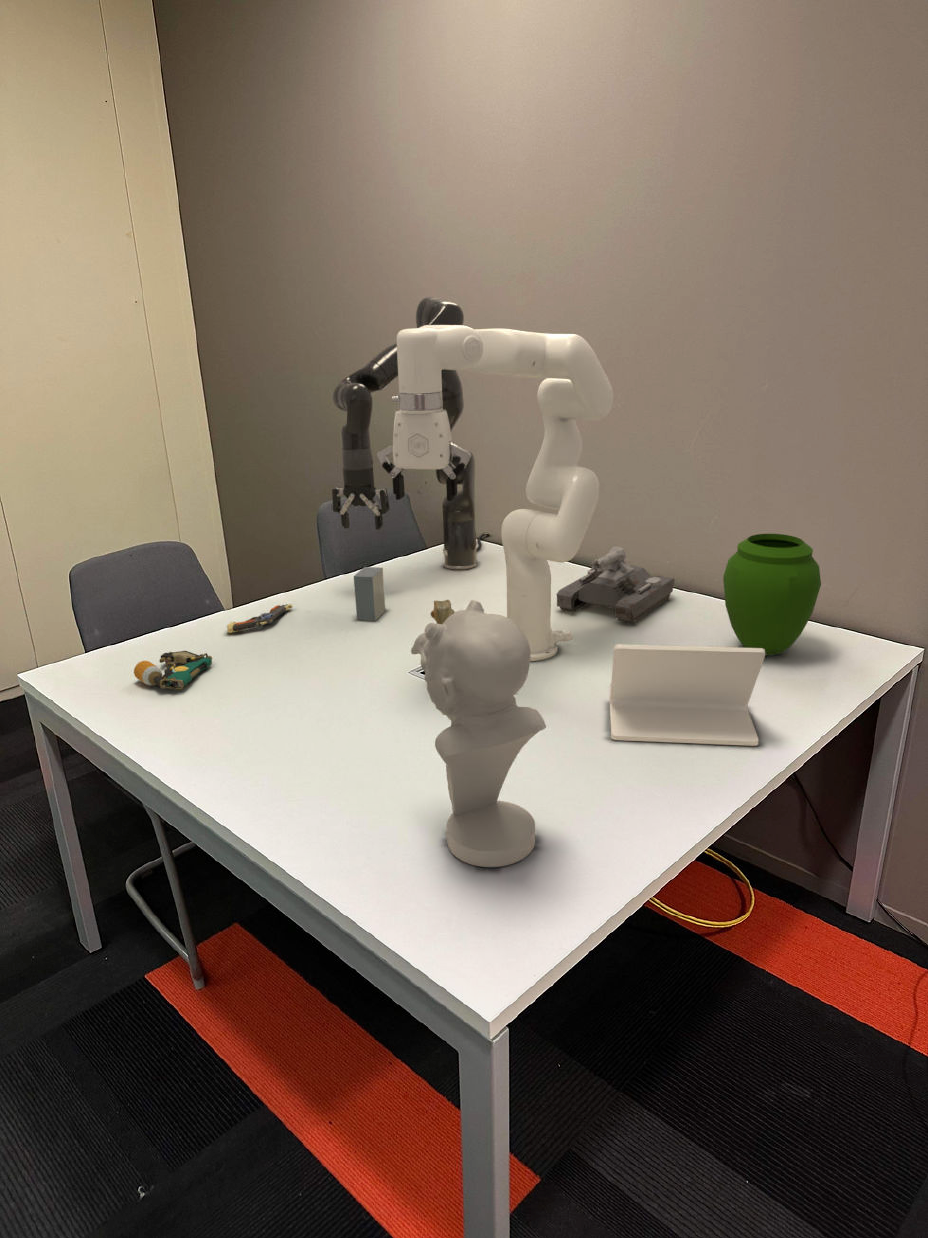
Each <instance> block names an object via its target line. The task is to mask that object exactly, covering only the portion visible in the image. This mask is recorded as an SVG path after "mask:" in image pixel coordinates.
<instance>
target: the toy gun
mask: <svg viewBox="0 0 928 1238" xmlns="http://www.w3.org/2000/svg"><path fill="white" fill-rule="evenodd" d="M292 608H293V604H292V603H286V604H281V605H280V604H278V605H275V606H274V607H272V608H270V610H269V612H263V613H261V614H260V615H259V616H258V615H257V616H252V617H251V618H248V619H247V620H245V621H239V622H236V621H232V622H230V623H228V624H227V625H226V628H227V632H228V633H229V634H232V633H236V632H239V631H244V630H248V629H253V628H255V627H258V626H263V625H264V626H265V625H268V624H272V623H273V622H274V621H275V620H276V619H277V618H278V617H279V616H281V615H282V614H284V613H285V612H286V611H288V610H291V609H292Z"/></svg>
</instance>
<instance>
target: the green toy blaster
mask: <svg viewBox="0 0 928 1238" xmlns="http://www.w3.org/2000/svg"><path fill="white" fill-rule="evenodd" d="M212 660H213V657H212V656H211V655H208V653H207V652H205V653H201V654H197V653H194V652H192V651H191V652H190V651H188V650H180V651H169V652H164V653H162V654H161V655H160V658H159V660H158V662H159V663H161V664H163V663H165V664H166V668H165V670H163V672H164V674H163V673H162V669H160V668H159V666H157V665H156V664H154V663H152V662H151V661H149V660H141V661H139V662H138V663H136V665H135V666H134V668H133V675H134V677H135V678H136V679H137V680H139V681H140V682H142V683H143V684H145V685H147V686H155V685H157V686H158V687H160V688H161V689H171V690H172V689H173V690H182V689H184V687H185V686H186V685H188V684H189V683H190V682H191V681H192V679H193V678H195V677H196V676H197V675H198V674H200V673H201V672H202V671H203V670H206V669H208V668H209V667H210V666H211V665H212V662H213V661H212ZM178 663H179V664H181V665H179V666H176V665H177V664H178Z"/></svg>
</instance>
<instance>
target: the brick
mask: <svg viewBox="0 0 928 1238" xmlns="http://www.w3.org/2000/svg"><path fill="white" fill-rule="evenodd" d="M384 583H385V582H384V570H383V567H374V566H364V567H363V568H361V570H359V571H358V572H357V573H356V574H355V575H353V584H354V585H353V586H354V598H355V610H356V611H355V612H356V621H361V622H362V621H363V622H377V620H378V619H379V618H380V617H381V616H382V615H383V614H384V613H385V612H386V600H385V584H384Z"/></svg>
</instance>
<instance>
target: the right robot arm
mask: <svg viewBox="0 0 928 1238" xmlns="http://www.w3.org/2000/svg"><path fill="white" fill-rule="evenodd" d="M396 343H397V360H398V377H397V378H398V393H397V394H396V395H392V397H391V403H392V404H393V405H398V409H399V410H396V411H395V414H394V420H393V432H392V433H393V434H392V444H391V445H389V446H386V447H385V448H383V449H381V450H380V451H378V452H377V453H376V457H377V458H378V460H379V462H380V464H381V467H382V468H383V469H384V470H385V472H387V473H388V475H389V477H390V478H392V493H393V495H395V500H397V501H399V500H401V499H403V498H404V497H405V495H406V493H405V477H404V475H403V474H402V472H404V470H435V469H443V471H444V472H445V473H446V474H447V475H448V479H447V480H446V484H445V485H446V486H445V487H446V496H447V500H448V501H452V500H453V499H454V498H455V496H456V495H457V492H458V484H457V476H458V475H459V474H460V473H461V472H462V471H463V470H464V469H465V468H466V465H467V464H468V461H469V459H470V457H471V453H472V452H471V451H469V452H468V450H467V449H465V448H462V447H460V446H459V445H458V444H455V443H454V442H453V439H452V432H451V431H450V425H449V420H448V415H447V411H446V410H443V400H442V375H441V371H442V370H443V369H445V370H456V371H461V372H471V373H476V374H481V375H489V376H503V377H517V378H519V377H520V378H532V379H543V380H542V381H541V383H540V384H539V386H538V389H537V393H536V399H537V406H538V408H539V413H540V415H541V418H542V423H543V429H544V435H543V440H542V444H541V447H540V450H539V452H538V455H537V457H536V459H535V462H534V464H533V467H532V469H531V472H530V474H529V477H528V479H527V483H526V485H525V496H526V498H527V500H528V501H529V502H530V503H531V504H533V505H535V506H537V507H540V508H545V509H550V510H555V511H558V512H557V514H556V513H552V512H551V513H550V512H548V511H547V512H546V511H541V510H537V509H531V508H519V509H515V510H513V511H511V512H509V513H508V514H507V515H506V516H505V518H504V519H503V520H502V524H501V528H500V530H501V531H500V536H501V537H500V538H501V544H502V548H503V553H504V558H505V569H506V571H505V572H506V617H507V618H509V619H511V620H512V621H513V622H514V623H515V624H516V625H517V626H518V627H519V628H520V629H521V630H522V632H523V633H524V634H525V636H526V638H527V640H528V643H529V646H530V652H531V653H530V655H531V656H530V662H535V661H536V662H537V661H543V660H547V659H550V658H552V657H554V656H555V655H556V654H557V652H558V643H559V642H568V641H569V642H570V641H572V640H573V633H572V632H571V631H563V629H556V630H553V629H552V628H551V625H552V621H551V618H552V616H551V613H552V609H551V608H552V572H551V567H550V563H549V562H552V563H553V562H554V563H559V564H560V563H567V562H569V561H571V560H572V559H573V558H574V557H575V556H576V555H577V553H578V552H579V550H580V549H581V546H582V543H583V541H584V539H585V536H586V534H587V531H588V529H589V526H590V523H591V522H592V518H593V516H594V514H595V511H596V508H597V506H598V502H599V498H600V494H601V493H600V487H601V485H600V480H599V478H598V476H597V475H596V474H597V473H595V472H594V471H593V470H592V469H590V468H588V467H584V466H580V465H579V466H578V464H579V461H580V459H581V455H582V453H583V446H584V445H583V444H584V443H583V437H582V435H581V432H580V429H579V426H578V424H577V420H578V421H588V422H596V421H601V420H604V419H605V418H606V417H607V416H608V415H609V413H610V412H611V411H612V409H613V406H614V391H613V387H612V384H611V382H610V380H609V378H608V376H607V373H606V372H605V370H604V368H603V366H602V364H601V362H600V360H599V358H598V357H597V354H596V353H595V351H594V349H593V348H592V347H591V345H590V344H589V343H588V341H587V340H586V339H585V338H584V337H582V336H581V335H579V334H576V333H543V332H535V331H534V332H533V331H524V330H519V329H510V328H480V329H477V328H476V329H474V328H472V327H470V326H467V325H463V326H462V325H426V326H422V327H420V328H417V327H416V328H415V327H413V328H404V329H401V330H399V332H398V333H397V334H396ZM470 452H471V453H470ZM453 453H454V454H456V455H458V456H459V457H460V458H461V460H460V463H459V465H458V466H457V467H455V466H454V465H453V464H452V463H451V462H452V459H453ZM390 454H392V462H391V461H390V459H389V457H388V456H389V455H390ZM548 561H549V562H548Z"/></svg>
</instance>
